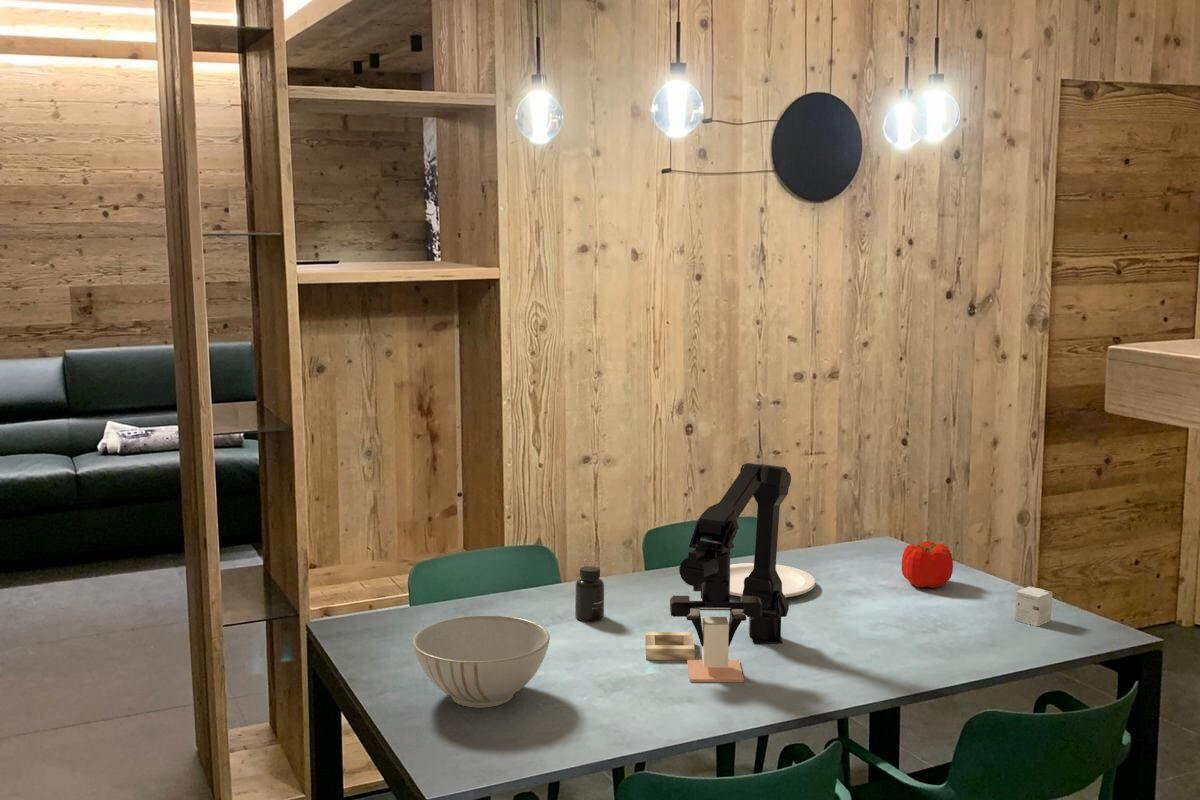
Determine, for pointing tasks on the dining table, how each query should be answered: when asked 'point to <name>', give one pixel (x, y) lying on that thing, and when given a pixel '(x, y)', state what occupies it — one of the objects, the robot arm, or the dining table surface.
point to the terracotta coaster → (714, 672)
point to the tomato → (927, 564)
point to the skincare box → (1033, 606)
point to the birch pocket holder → (669, 646)
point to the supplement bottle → (589, 595)
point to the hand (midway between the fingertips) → (715, 645)
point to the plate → (790, 577)
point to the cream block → (715, 642)
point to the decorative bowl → (481, 657)
